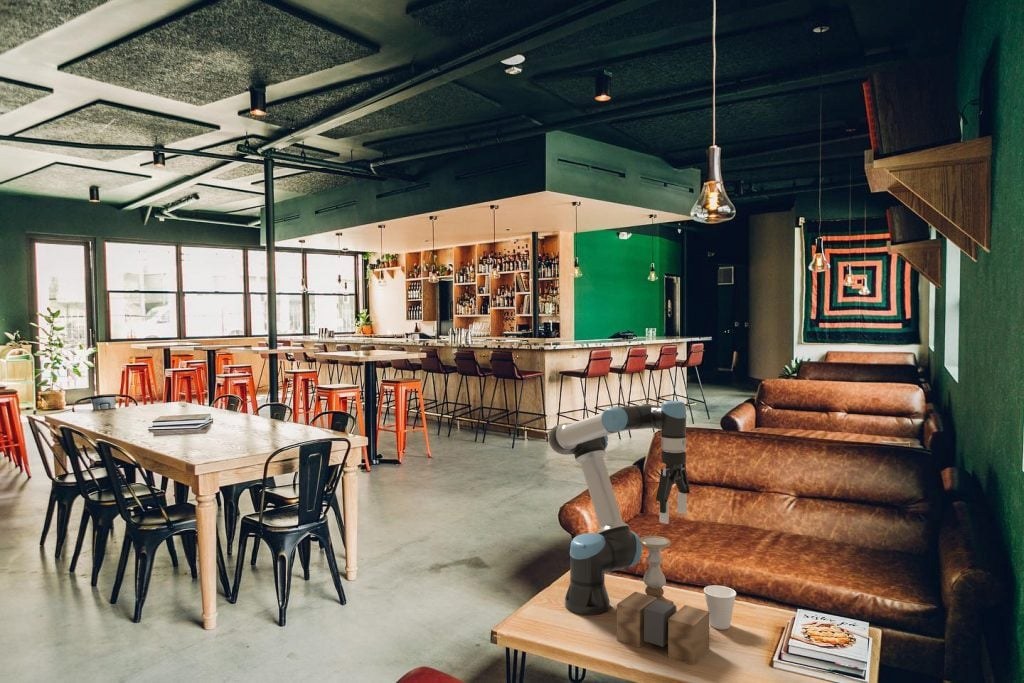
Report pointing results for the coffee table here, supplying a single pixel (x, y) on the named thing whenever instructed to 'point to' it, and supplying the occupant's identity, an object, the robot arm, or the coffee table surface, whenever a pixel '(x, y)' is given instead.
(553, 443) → the robot arm
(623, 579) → the coffee table surface
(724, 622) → the cup
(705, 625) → the wooden block dumbbell
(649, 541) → the candle holder
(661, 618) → the slotted gray cube
